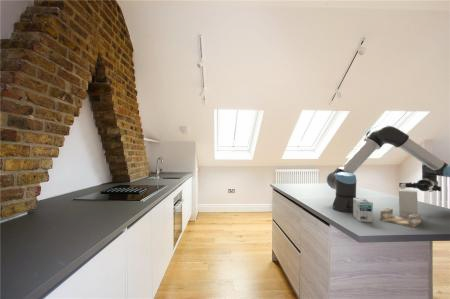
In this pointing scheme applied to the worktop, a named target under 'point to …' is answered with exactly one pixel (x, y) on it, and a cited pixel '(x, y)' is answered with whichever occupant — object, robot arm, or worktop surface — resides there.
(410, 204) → the skincare box
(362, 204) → the light bulb box
